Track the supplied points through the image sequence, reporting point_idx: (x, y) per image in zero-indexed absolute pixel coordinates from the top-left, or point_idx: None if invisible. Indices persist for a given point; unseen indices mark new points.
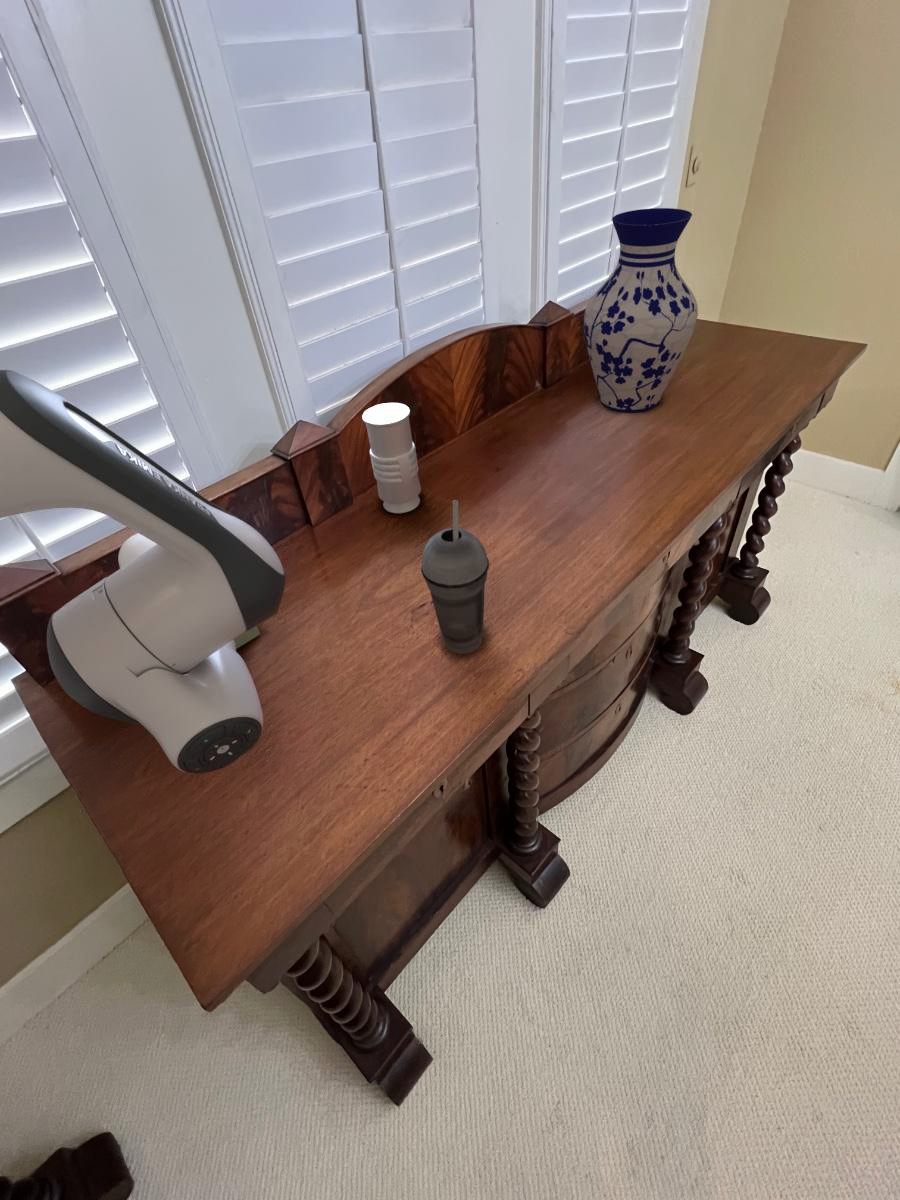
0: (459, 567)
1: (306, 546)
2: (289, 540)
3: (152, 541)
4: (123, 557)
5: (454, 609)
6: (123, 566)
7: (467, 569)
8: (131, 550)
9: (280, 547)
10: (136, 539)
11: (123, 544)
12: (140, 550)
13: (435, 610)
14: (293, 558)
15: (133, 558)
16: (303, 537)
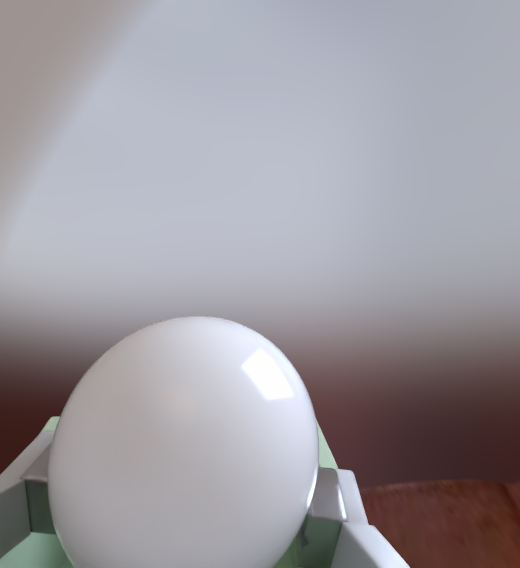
0: None
1: (505, 530)
2: (455, 484)
3: (247, 380)
4: (86, 383)
5: None
6: (58, 424)
7: None
8: (130, 372)
9: (437, 491)
10: (190, 333)
11: (140, 329)
12: (163, 398)
13: None
14: (479, 551)
15: (105, 420)
16: (488, 496)
